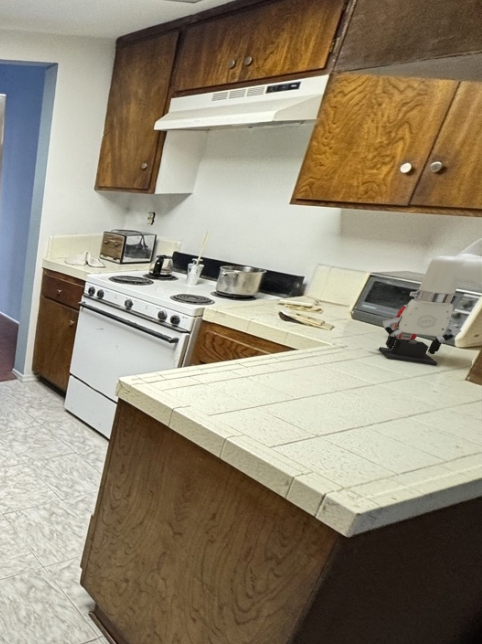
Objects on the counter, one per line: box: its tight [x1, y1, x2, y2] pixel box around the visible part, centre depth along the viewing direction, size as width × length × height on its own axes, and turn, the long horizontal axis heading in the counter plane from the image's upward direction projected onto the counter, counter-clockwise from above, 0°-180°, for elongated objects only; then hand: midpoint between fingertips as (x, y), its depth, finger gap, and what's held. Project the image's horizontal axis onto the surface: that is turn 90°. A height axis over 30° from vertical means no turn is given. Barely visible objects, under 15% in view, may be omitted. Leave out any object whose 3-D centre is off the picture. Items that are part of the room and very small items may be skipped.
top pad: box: [392, 339, 430, 359], centre depth 149 cm, size 6×6×4 cm
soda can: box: [390, 304, 419, 340], centre depth 167 cm, size 7×7×12 cm
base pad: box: [378, 339, 438, 366], centre depth 149 cm, size 11×11×6 cm
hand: (409, 350), depth 149 cm, fingers open, 9 cm apart
